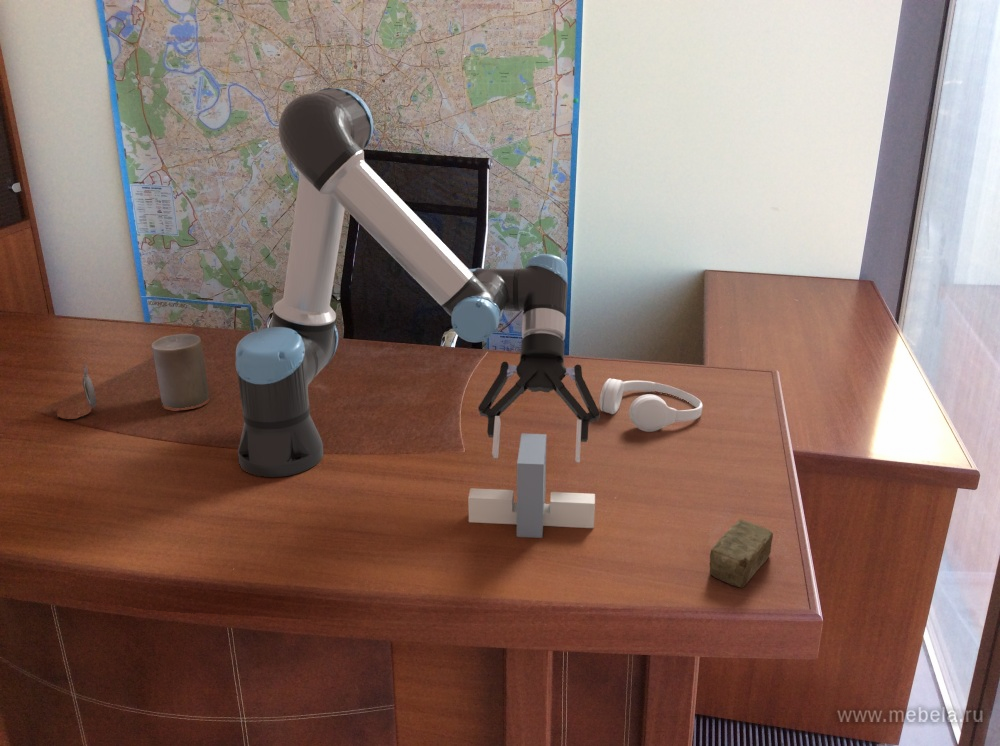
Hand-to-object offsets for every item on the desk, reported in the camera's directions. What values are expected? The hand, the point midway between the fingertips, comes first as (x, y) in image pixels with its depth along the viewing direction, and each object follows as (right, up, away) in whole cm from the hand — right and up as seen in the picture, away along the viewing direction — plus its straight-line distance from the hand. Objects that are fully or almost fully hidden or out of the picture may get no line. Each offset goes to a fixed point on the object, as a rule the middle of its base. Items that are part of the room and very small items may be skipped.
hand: (536, 458), depth 143 cm
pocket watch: (-92, +6, +35) cm, 98 cm away
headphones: (+25, +6, +35) cm, 43 cm away
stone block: (+30, -15, -14) cm, 36 cm away
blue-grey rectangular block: (-1, -10, -3) cm, 10 cm away
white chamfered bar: (-1, -10, -3) cm, 10 cm away
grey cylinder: (-72, +8, +40) cm, 83 cm away
